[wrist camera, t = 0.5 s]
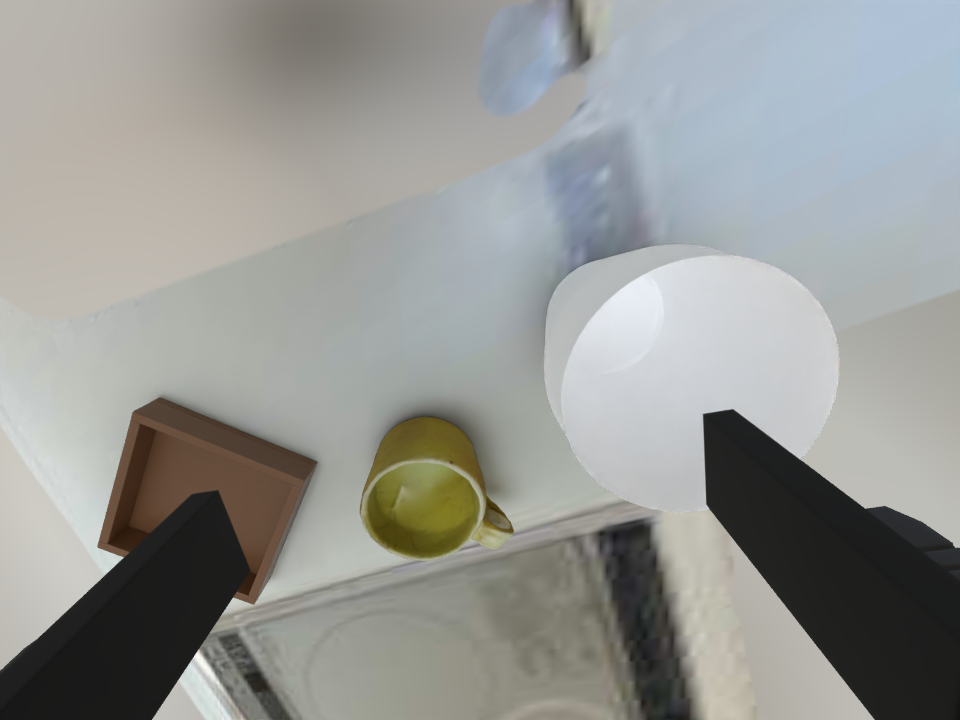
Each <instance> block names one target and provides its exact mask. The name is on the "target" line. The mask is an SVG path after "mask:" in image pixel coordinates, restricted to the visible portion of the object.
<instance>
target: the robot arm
mask: <svg viewBox="0 0 960 720" xmlns="http://www.w3.org/2000/svg"><path fill="white" fill-rule="evenodd" d="M703 430H704V458H705V486H706V505H707V506H708V508H709V509H710V510H711V511H712V513H713V514H714V515H715V516H716V518H717V519H718V520H719V522H720V523H721V524H722V525H723V527H724V528H725V529H726V531H727V532H728V533H729V534H730V536H731V537H732V538H733V539H734V541H735V542H736V543H737V545H738V546H739V547H740V548H741V550H742V551H743V552H744V553H745V555H746V556H747V557H748V559H749V560H750V561H751V562H752V564H753V565H754V566H755V568H756V569H757V570H758V571H759V573H760V574H761V575H762V576H763V578H764V579H765V580H766V581H767V583H768V584H769V585H770V587H771V588H772V589H773V590H774V592H775V593H776V594H777V596H778V597H779V598H780V599H781V601H782V602H783V603H784V604H785V606H786V607H787V608H788V610H789V611H790V612H791V613H792V615H793V616H794V617H795V619H796V620H797V621H798V622H799V624H800V625H801V626H802V627H803V629H804V630H805V631H806V632H807V634H808V635H809V636H810V638H811V639H812V640H813V641H814V643H815V644H816V645H817V647H818V648H819V649H820V650H821V652H822V653H823V654H824V656H825V657H826V658H827V659H828V661H829V662H830V663H831V664H832V666H833V667H834V668H835V670H836V671H837V672H838V673H839V675H840V676H841V677H842V678H843V680H844V681H845V682H846V684H847V685H848V686H849V687H850V689H851V690H852V691H853V692H854V694H855V695H856V696H857V698H858V699H859V700H860V701H861V703H862V704H863V705H864V707H865V708H866V709H867V710H868V712H869V713H870V714H871V715H872V717H873V718H874V719H875V720H960V548H955V547H954V546H953V543H952V542H950V541H949V540H947V539H946V538H944V537H943V536H942V535H940V534H939V533H937V532H936V531H934V530H933V529H931V528H930V527H928V526H927V525H926V524H924V523H923V522H921V521H918V520H916V519H914V518H911V517H909V516H907V515H904V514H902V513H900V512H897V511H895V510H893V509H891V508H888V507H886V506H882V507H876V508H868V509H865V508H864V507H862V506H861V505H859V504H858V503H857V502H856V501H854V500H853V499H852V498H850V497H849V496H848V495H846V494H845V493H844V492H842V491H841V490H840V489H838V488H837V487H836V486H834V485H833V484H832V483H830V482H829V481H828V480H826V479H825V478H824V477H822V476H821V475H820V474H818V473H817V472H816V471H815V470H813V469H812V468H810V467H809V466H808V465H807V464H805V463H804V462H803V461H801V460H800V459H799V458H797V457H796V456H795V455H793V454H792V453H791V452H789V451H788V450H787V449H785V448H784V447H783V446H781V445H780V444H779V443H778V442H776V441H775V440H774V439H772V438H771V437H770V436H768V435H767V434H766V433H764V432H763V431H762V430H760V429H759V428H758V427H756V426H755V425H754V424H752V423H751V422H750V421H748V420H747V419H746V418H744V417H743V416H742V415H740V414H739V413H738V412H736V411H735V410H734V409H730V410H724V411H717V412H711V413H705V414H703ZM250 571H251V570H250V568H249V565H248V563H247V560H246V558H245V555H244V553H243V550H242V548H241V545H240V543H239V540H238V538H237V535H236V533H235V530H234V528H233V525H232V523H231V520H230V518H229V515H228V513H227V510H226V508H225V505H224V503H223V500H222V498H221V495H220V493H219V490H214V491H208V492H201V493H195V494H191V495H190V496H189V497H188V498H187V499H186V500H185V501H184V502H183V503H182V504H181V505H180V506H179V507H177V508H176V509H175V510H174V511H173V512H172V513H171V514H170V515H169V516H168V517H167V518H166V519H165V520H164V521H163V522H161V523H160V524H159V525H158V526H157V527H156V528H155V529H154V530H153V531H152V532H151V533H150V534H149V535H148V536H147V537H145V538H144V539H143V540H142V541H141V542H140V543H139V544H138V545H137V546H136V547H135V548H134V549H133V550H132V551H131V552H130V553H128V554H127V555H126V556H125V557H124V558H123V559H122V560H121V561H120V562H119V563H118V564H117V565H116V566H115V567H114V568H112V569H111V570H110V571H109V572H108V573H107V574H106V575H105V576H104V577H103V578H102V579H101V580H100V581H99V582H98V583H97V584H95V585H94V586H93V587H92V588H91V589H90V590H89V591H88V592H87V593H86V594H85V595H84V596H83V597H82V598H81V599H80V600H78V601H77V602H76V603H75V604H74V605H73V606H72V607H71V608H70V609H69V610H68V611H67V612H66V613H65V614H63V615H62V616H61V617H60V618H59V619H58V620H57V621H56V622H55V623H54V624H53V625H52V626H51V627H50V628H49V629H48V630H46V632H44V633H43V634H42V635H41V636H40V637H39V638H38V639H37V640H35V641H34V642H33V643H31V644H30V645H28V646H27V647H26V648H24V649H23V650H22V651H21V652H20V653H19V654H18V655H17V656H16V657H15V658H13V659H12V660H11V661H10V662H9V663H8V664H7V665H6V666H5V667H4V668H3V669H2V670H1V671H0V720H152V719H153V717H154V716H155V714H156V713H157V711H158V710H159V708H160V707H161V705H162V704H163V702H164V701H165V699H166V698H167V696H168V695H169V693H170V692H171V690H172V688H173V687H174V685H175V684H176V683H177V681H178V680H179V678H180V677H181V675H182V674H183V672H184V671H185V669H186V668H187V666H188V665H189V663H190V662H191V660H192V658H193V657H194V655H195V654H196V652H197V651H198V649H199V648H200V646H201V645H202V643H203V642H204V640H205V639H206V637H207V636H208V634H209V633H210V631H211V630H212V628H213V627H214V625H215V624H216V622H217V621H218V619H219V618H220V616H221V615H222V613H223V612H224V610H225V609H226V607H227V606H228V604H229V603H230V601H231V600H232V598H233V597H234V595H235V594H236V592H237V591H238V589H239V588H240V586H241V585H242V583H243V582H244V580H245V579H246V577H247V576H248V574H249V573H250Z"/></svg>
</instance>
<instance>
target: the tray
mask: <svg viewBox="0 0 960 720" xmlns="http://www.w3.org/2000/svg"><path fill="white" fill-rule="evenodd" d="M316 465H317V462H315V461H313V460H310V459H308V458H305V457H303V456H301V455H298V454H296V453H293V452H291V451H288V450H286V449H284V448H281V447H279V446H276V445H274V444H271V443H269V442H266V441H264V440H262V439H259V438H257V437H254V436H252V435H249V434H247V433H244V432H242V431H240V430H237V429H235V428H232V427H230V426H227V425H225V424H223V423H220V422H218V421H215V420H213V419H210V418H208V417H205V416H203V415H201V414H198V413H196V412H193V411H191V410H188V409H186V408H183V407H181V406H179V405H176V404H174V403H171V402H169V401H166V400H164V399H162V398H158V399H156V400H154V401H152V402H150V403H148V404H147V405H145V406H143V407H141V408H139V409H137V410H135V411H133V413H132V417H131V421H130V425H129V429H128V433H127V436H126V440H125V444H124V448H123V452H122V455H121V459H120V463H119V467H118V470H117V474H116V478H115V482H114V486H113V489H112V493H111V497H110V501H109V505H108V508H107V512H106V516H105V520H104V523H103V527H102V531H101V535H100V539H99V543H98V546H97V547H98V548H100V549H103V550H106V551H108V552H111V553H114V554H116V555H119V556H122V557H125V556H126V555H127V554H128V553H130V552H131V551H132V550H133V549H134V548H135V547H136V546H137V545H138V544H139V543H140V542H141V541H142V540H143V539H144V538H145V537H147V536H148V535H149V534H150V533H151V532H152V531H153V530H154V529H155V528H156V527H157V526H158V525H159V524H160V523H161V522H163V521H164V520H165V519H166V518H167V517H168V516H169V515H170V514H171V513H172V512H173V511H174V510H175V509H176V508H177V507H179V506H180V505H181V504H182V503H183V502H184V501H185V500H186V499H187V498H188V497H189V496H190V495H191V494H195V493H201V492H208V491H214V490H219V493H220V495H221V498H222V500H223V503H224V505H225V508H226V510H227V513H228V515H229V518H230V520H231V523H232V525H233V528H234V530H235V533H236V535H237V538H238V540H239V543H240V545H241V548H242V550H243V553H244V555H245V558H246V560H247V563H248V565H249V568H250V570H251V571H250V573H249V574H248V576H247V577H246V579H245V580H244V582H243V583H242V585H241V586H240V588H239V589H238V591H237V592H236V594H235V595H234V598H237V599H239V600H242V601H245V602H248V603H250V604H253V605H254V604H255V602H256V601H257V599H258V597H259V596H260V594H261V592H262V591H263V589H264V587H265V586H266V584H267V583H268V581H269V579H270V577H271V574H272V572H273V569H274V567H275V564H276V562H277V560H278V557H279V555H280V552H281V550H282V547H283V545H284V543H285V540H286V538H287V535H288V533H289V530H290V528H291V526H292V523H293V521H294V518H295V516H296V514H297V511H298V509H299V506H300V504H301V501H302V499H303V497H304V494H305V492H306V489H307V487H308V484H309V482H310V480H311V477H312V475H313V472H314V470H315V467H316Z"/></svg>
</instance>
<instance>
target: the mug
mask: <svg viewBox="0 0 960 720" xmlns="http://www.w3.org/2000/svg"><path fill="white" fill-rule="evenodd" d="M360 515H361V519H362V522H363V525H364V527H365V529H366V531H367V532H368V534H369V535H370V537H371V538H372V539H373V540H374V541H375V542H376V543H377V544H378V545H379V546H381V547H382V548H384V549H385V550H387V551H388V552H390V553H392V554H395V555H397V556H400V557H403V558H407V559H413V560H419V561H430V560H435V559H440V558H444V557H447V556H449V555H451V554H453V553H455V552H456V551H458V550H460V549H461V548H462V547H463V546H464V545H465V544H467V543H468V542H469V541H470V539H474V540H475V541H477V542H478V543H480V544H481V545H482V546H484V547H486V548H489V549H497V548H500V547H501V546H502V545H503V544H504V543H506V542H507V540H508V539H509V538H510V537H511V536H512V535H513V533H514V530H513V527H512V525H511V522H510V521H509V520H508V519H507V517H506V515H505V514H504V513H503V512H502V511H501V509H500V508H499V507H498V506H497V505H496V504H495V503H494V502H492V501H491V500H490V499H489V498H488V497H487V496H486V489H485V483H484V480H483V476H482V473H481V470H480V467H479V464H478V462H477V458H476V455H475V452H474V449H473V446H472V444H471V442H470V440H469V439H468V437H467V436H466V435H465V433H464V432H463V431H461V430H460V429H459V428H457V427H456V426H454V425H453V424H451V423H450V422H447V421H444V420H442V419H439V418H434V417H419V418H414V419H410V420H407V421H405V422H402V423H400V424H399V425H397V426H395V427H394V428H393V429H392V430H391V431H390V432H389V433H388V434H387V435H386V436H385V437H384V439H383V440H382V442H381V444H380V446H379V448H378V450H377V453H376V456H375V459H374V463H373V466H372V468H371V471H370V473H369V476H368V479H367V481H366V484H365V487H364V490H363V494H362V499H361V505H360Z"/></svg>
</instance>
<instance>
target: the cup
mask: <svg viewBox="0 0 960 720" xmlns="http://www.w3.org/2000/svg"><path fill="white" fill-rule="evenodd" d="M839 372H840V361H839V350H838V345H837V340H836V336H835V333H834V330H833V327H832V325H831V322H830V320H829V318H828V316H827V314H826V312H825V311H824V309H823V307H822V306H821V305H820V303H819V302H818V300H817V299H816V298H815V297H814V295H813V294H812V293H811V292H810V291H809V290H808V289H807V288H806V287H805V286H804V285H802V284H801V283H800V282H799V281H798V280H796V279H795V278H793V277H792V276H790V275H789V274H787V273H786V272H784V271H782V270H780V269H778V268H776V267H774V266H772V265H769V264H766V263H763V262H761V261H757V260H753V259H749V258H745V257H740V256H736V255H731V254H727V253H724V252H722V251H719V250H716V249H713V248H708V247H704V246H698V245H691V244H669V245H658V246H652V247H646V248H642V249H638V250H634V251H630V252H627V253H623V254H619V255H615V256H611V257H607V258H604V259H600V260H596V261H592V262H589V263H587V264H584V265H582V266H580V267H578V268H577V269H575V270H574V271H572V272H571V273H569V274H568V275H567V276H566V277H565V278H564V279H563V280H562V281H561V282H560V284H559V285H558V286H557V288H556V289H555V291H554V293H553V295H552V297H551V299H550V302H549V305H548V309H547V315H546V331H545V349H544V380H545V387H546V393H547V397H548V401H549V404H550V407H551V409H552V412H553V414H554V416H555V418H556V420H557V422H558V424H559V425H560V427H561V428H562V430H563V432H564V434H565V436H566V438H567V440H568V442H569V444H570V446H571V448H572V450H573V452H574V454H575V456H576V457H577V459H578V460H579V462H580V464H581V465H582V466H583V467H584V469H585V470H586V471H587V472H588V473H589V474H590V475H591V476H592V478H593V479H594V480H595V481H597V482H598V483H599V484H600V485H601V486H603V487H604V488H605V489H607V490H608V491H610V492H611V493H613V494H614V495H616V496H618V497H620V498H622V499H624V500H626V501H628V502H631V503H633V504H636V505H639V506H642V507H645V508H650V509H654V510H660V511H668V512H696V511H704V510H710V509H709V508H708V506H707V505H706V486H705V458H704V430H703V414H705V413H711V412H717V411H724V410H730V409H734V410H735V411H736V412H738V413H739V414H740V415H742V416H743V417H744V418H746V419H747V420H748V421H750V422H751V423H752V424H754V425H755V426H756V427H758V428H759V429H760V430H762V431H763V432H764V433H766V434H767V435H768V436H770V437H771V438H772V439H774V440H775V441H776V442H778V443H779V444H780V445H781V446H783V447H784V448H785V449H787V450H788V451H789V452H791V453H792V454H793V455H795V456H796V457H797V458H799V459H800V460H801V459H802V458H803V456H804V455H805V454H806V453H807V452H808V451H809V449H810V448H811V447H812V445H813V444H814V442H815V441H816V440H817V438H818V436H819V435H820V433H821V432H822V430H823V428H824V426H825V424H826V422H827V420H828V418H829V415H830V413H831V410H832V408H833V405H834V401H835V398H836V394H837V389H838V383H839Z"/></svg>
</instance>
